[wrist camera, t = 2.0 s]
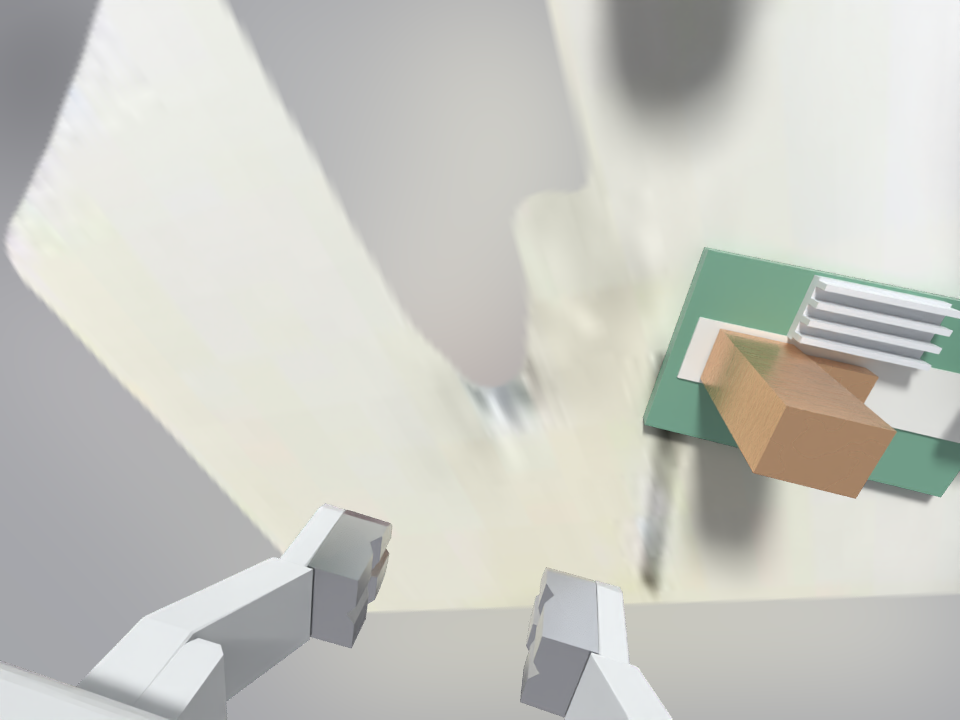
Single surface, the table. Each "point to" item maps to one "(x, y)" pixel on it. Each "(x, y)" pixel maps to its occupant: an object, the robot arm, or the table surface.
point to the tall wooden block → (796, 412)
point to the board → (826, 355)
